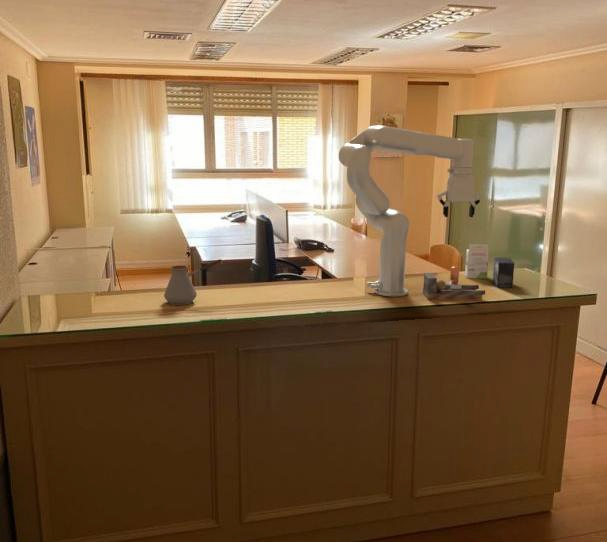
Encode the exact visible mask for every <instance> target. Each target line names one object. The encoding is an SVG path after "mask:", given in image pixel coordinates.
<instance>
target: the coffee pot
mask: <svg viewBox="0 0 607 542" xmlns="http://www.w3.org/2000/svg"><path fill="white" fill-rule="evenodd" d="M220 262H221V264H222V265H224V263H223V260H222V259H221V258H220V259H217V260H214V261H212V262H210V263H207V264H205V265H204V266H202V267H200V268H198V269H196V270H193V271H191V272H190V273H188V269H190V268H189V266H188V265H173V266H171V267H169V269H170V270H171V272H172V273H171V275H170V279H169V281H168V283H167V286H166V289H165V291H164V294H163V296H164V299H165V300H166V301H167V302H168V303H169V305H172V306H186V305H190V304H191V303H192V302H193V301H195V299H197V294H198V293H197V291H196V289H195V287H194V285H193V282H192V280H191V278H190V277H191V276H193V275H195V274H197V273H199V272H201V271H204V270H206V269H208V268H211V267H212V266H214V265H217V264H218V263H220Z"/></svg>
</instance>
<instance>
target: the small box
mask: <svg viewBox="0 0 607 542" xmlns="http://www.w3.org/2000/svg"><path fill="white" fill-rule="evenodd" d="M493 261H494V263H493V274H492V276H493V277H492V282H493V284H494V285H495V287H496V289H513V288H514V273H515V265H516V264H515V262H514V261H513V260H512V259H511V258H510V257H500V256H499V257H496V256H495V257H494V258H493Z"/></svg>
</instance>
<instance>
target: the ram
mask: <svg viewBox="0 0 607 542" xmlns="http://www.w3.org/2000/svg"><path fill="white" fill-rule="evenodd" d="M459 275H460V267H459V266H456V265H454V266H453V265H452V266H451V267H450V277H449V280H446V284H447V285H446V289H447V290H461V285H462V283H460V282H459Z"/></svg>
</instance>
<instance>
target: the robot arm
mask: <svg viewBox="0 0 607 542" xmlns="http://www.w3.org/2000/svg"><path fill="white" fill-rule="evenodd" d="M474 145H475V144H474V140H473V139H471V138H456V137H450V136H446V135H439V134H433V133H427V132H423V131H418V130H411V129H405V128H400V127H394V126H388V125H371V126H368V127H367V128H366V129H364V130H362V131H361V132H359V133H358V134H357V135H356V136H354V137H353V138H352V139H350V140H349V141H348V142H346V143H344V144H343V145H342V146H341V148H340V149H339V151H338V155H337V156H338V160H339V162H340V164H341V165H342V166H344V167H346V181H347V182H346V183H347V184H348V186H349V189H350V190H351V191H352V192H353V194H354V195H355V200H354V201H355V205H356V208H357V209H358V211H359V212H360V213H361V214H362V215H363V216H364V218H365V219H366V220H367V222H369V224H371V226H372V228H373V227H374V229H375V230H377V231H378V232H381V233H382V238H381V240H380V241H381V242H380V248H379V252H380V253H379V272H378V273H379V274H378V275H379V277H378V279H377V280H376V281H375V282H372V281H366V287H367V288H370V289H374V293H375V294H376V295H378V296H384V297H391V298H392V297H404V296H406V295H408V294H409V289H407V288H405V275H406V274H405V273H406V254H407V253H406V252H407V250H406V249H407V240H408V235H409V232H410V231H409V230H410V221H409V217H408V216H407V215H406V213H404V212H402V211H400V210H397V209H393V208H390V206H391V203H390V202H391V201H390V198H389V197H388V195H387V194H386V192H384V190H383V189H382V188H381V187H380V186H379V185H378V183H377V182H376V180H375V179H374V178H373V177H372V175H371V172H370V165H371V162H372V161H371V160H372V154H371V153H372V152H373V151H375V150H380V151H387V152H392V153H393V152H394V153H399V154H405V155H410V156H411V155H412V156H413V155H414V156H429V157H436V158H438V159H447V160H451V167H450V168H447V173H449V174H450V175H449V176H448V179H447V184H446V188H445V189H446V190H444V191H442V192H440V193H437V194H436V198H437V199H438V202H439V203H440V204H441V205H442V207H443V208H442V215H443V217H444V218H448V217H449V205H450V203H469V204H470V206H469V208H468V217H470V218H473V217H474V215H475V211H476V210H475V209H476V208H475V207H477V206H478V204H479V203H480V202H481V200H482V199H483V194H481V193H479V192H477V191H476V189H475V186H476V185H475V176H474V175H472V171H473V160H474V158H473V157H474ZM444 196H445V200H443V197H444ZM475 196H476V197H477V198H476V199H475Z"/></svg>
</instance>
